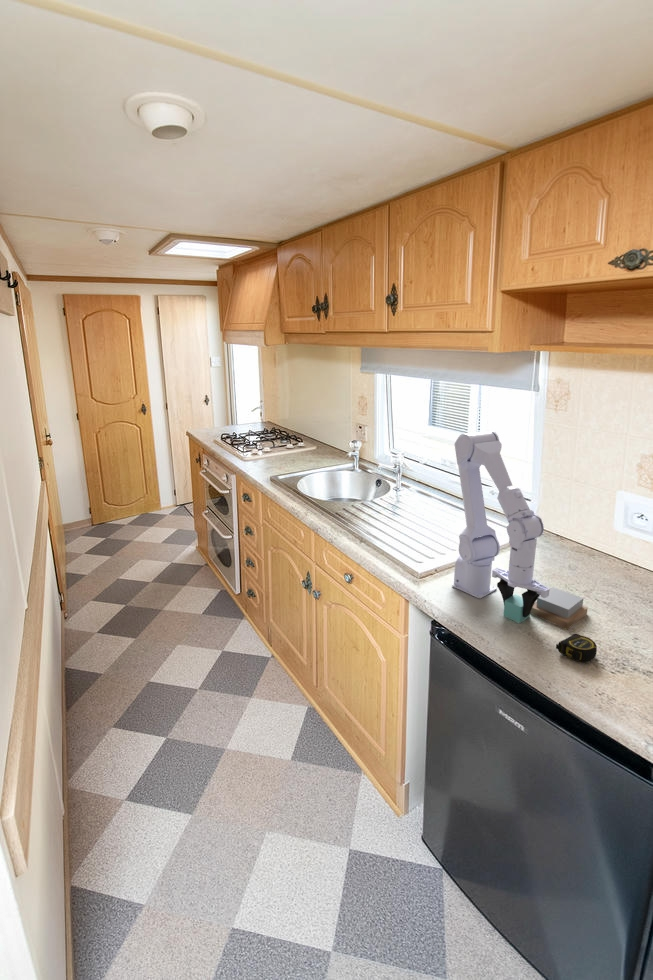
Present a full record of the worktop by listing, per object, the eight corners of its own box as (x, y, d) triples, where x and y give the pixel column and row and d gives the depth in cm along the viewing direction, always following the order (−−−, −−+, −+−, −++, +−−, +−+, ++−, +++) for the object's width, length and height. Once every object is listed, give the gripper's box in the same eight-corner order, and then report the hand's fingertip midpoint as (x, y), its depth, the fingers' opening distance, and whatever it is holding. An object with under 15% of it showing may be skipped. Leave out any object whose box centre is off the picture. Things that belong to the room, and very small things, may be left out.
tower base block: (528, 614, 133) (529, 606, 132) (549, 601, 139) (550, 593, 138) (566, 631, 126) (567, 622, 125) (586, 616, 132) (587, 608, 131)
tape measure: (573, 643, 120) (575, 629, 119) (601, 658, 115) (604, 644, 114) (554, 653, 117) (556, 639, 116) (583, 669, 112) (585, 654, 110)
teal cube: (503, 616, 132) (504, 600, 130) (513, 609, 134) (515, 594, 133) (519, 623, 128) (521, 607, 127) (529, 616, 131) (531, 601, 130)
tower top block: (536, 606, 132) (537, 597, 132) (551, 595, 137) (552, 586, 136) (567, 618, 127) (568, 609, 126) (582, 606, 131) (583, 598, 131)
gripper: (486, 557, 130) (482, 605, 134) (540, 578, 119) (534, 629, 123) (502, 549, 134) (498, 596, 138) (556, 569, 123) (550, 619, 127)
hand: (516, 611), depth 131 cm, fingers closed on teal cube, 4 cm apart
